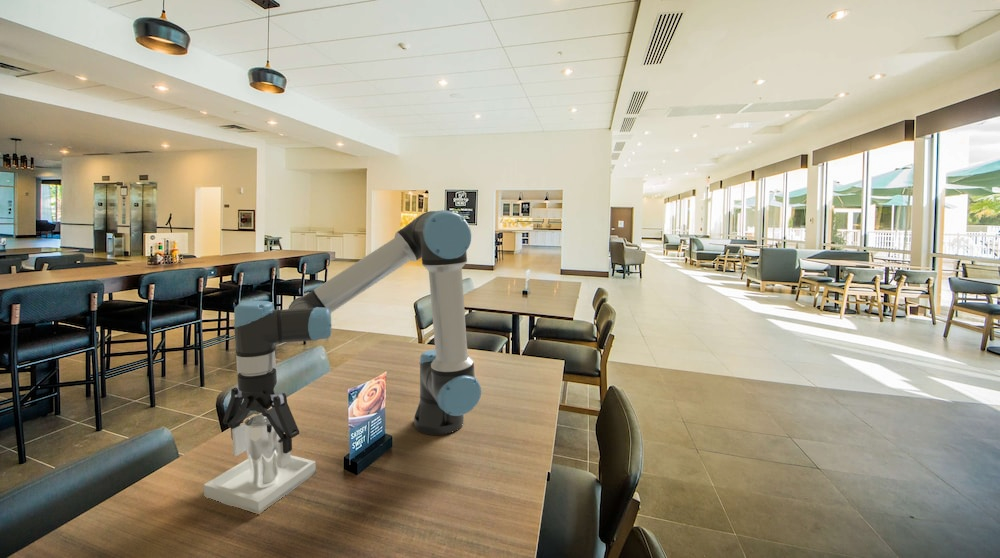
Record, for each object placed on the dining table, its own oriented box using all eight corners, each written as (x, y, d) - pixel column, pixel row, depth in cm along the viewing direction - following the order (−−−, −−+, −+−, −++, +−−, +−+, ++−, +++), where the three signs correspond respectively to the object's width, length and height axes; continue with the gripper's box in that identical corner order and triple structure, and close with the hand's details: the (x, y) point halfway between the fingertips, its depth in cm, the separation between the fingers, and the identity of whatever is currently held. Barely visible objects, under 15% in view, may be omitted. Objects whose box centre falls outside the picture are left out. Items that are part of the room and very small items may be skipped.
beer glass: (265, 492, 92) (263, 428, 90) (239, 487, 94) (236, 424, 92) (287, 474, 99) (285, 414, 97) (262, 470, 100) (260, 411, 98)
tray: (316, 472, 102) (315, 461, 101) (259, 515, 87) (258, 502, 86) (266, 459, 107) (265, 448, 106) (204, 497, 92) (203, 484, 91)
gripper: (314, 372, 93) (317, 461, 95) (231, 358, 101) (236, 440, 103) (287, 384, 85) (291, 479, 88) (200, 368, 93) (207, 456, 96)
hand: (262, 458), depth 96 cm, fingers open, 13 cm apart
